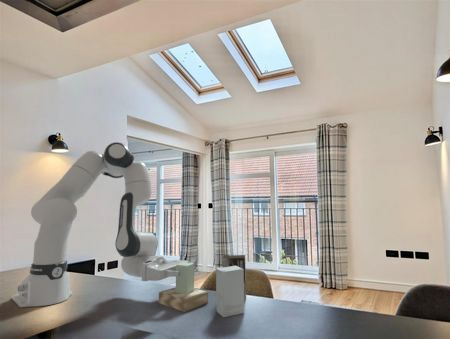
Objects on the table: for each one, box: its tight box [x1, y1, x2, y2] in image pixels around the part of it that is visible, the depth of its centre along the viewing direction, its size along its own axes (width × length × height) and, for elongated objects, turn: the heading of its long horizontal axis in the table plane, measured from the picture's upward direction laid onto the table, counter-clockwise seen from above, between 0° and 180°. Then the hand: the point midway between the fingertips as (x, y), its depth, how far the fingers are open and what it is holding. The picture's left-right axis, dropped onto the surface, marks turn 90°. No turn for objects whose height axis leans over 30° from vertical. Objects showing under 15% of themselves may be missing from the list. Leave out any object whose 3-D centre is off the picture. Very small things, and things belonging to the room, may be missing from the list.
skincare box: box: [215, 266, 245, 318], centre depth 100 cm, size 8×6×15 cm
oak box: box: [158, 286, 209, 313], centre depth 110 cm, size 14×12×4 cm
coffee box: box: [221, 254, 247, 302], centre depth 116 cm, size 9×6×16 cm
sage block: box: [175, 262, 195, 294], centre depth 111 cm, size 5×5×10 cm
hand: (186, 271), depth 111 cm, fingers open, 8 cm apart
